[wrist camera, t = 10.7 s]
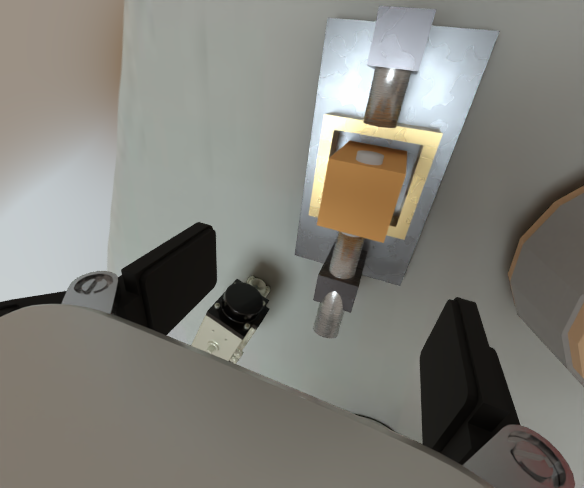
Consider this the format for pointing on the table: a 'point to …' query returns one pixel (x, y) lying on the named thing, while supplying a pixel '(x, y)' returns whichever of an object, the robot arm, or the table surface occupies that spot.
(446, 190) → the table surface
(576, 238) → the desk lamp
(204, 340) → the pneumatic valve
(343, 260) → the shaft stand
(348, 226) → the block
